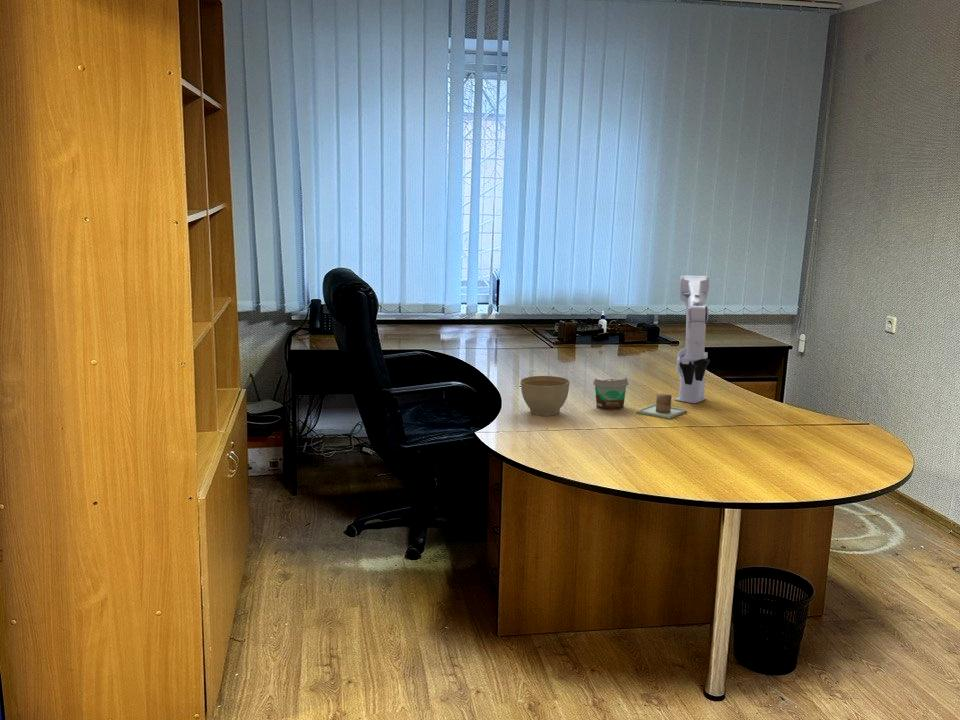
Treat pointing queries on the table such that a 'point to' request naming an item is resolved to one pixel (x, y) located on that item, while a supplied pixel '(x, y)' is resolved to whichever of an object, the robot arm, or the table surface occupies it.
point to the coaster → (652, 412)
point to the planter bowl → (545, 394)
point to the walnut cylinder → (663, 403)
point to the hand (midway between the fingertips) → (693, 382)
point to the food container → (610, 393)
